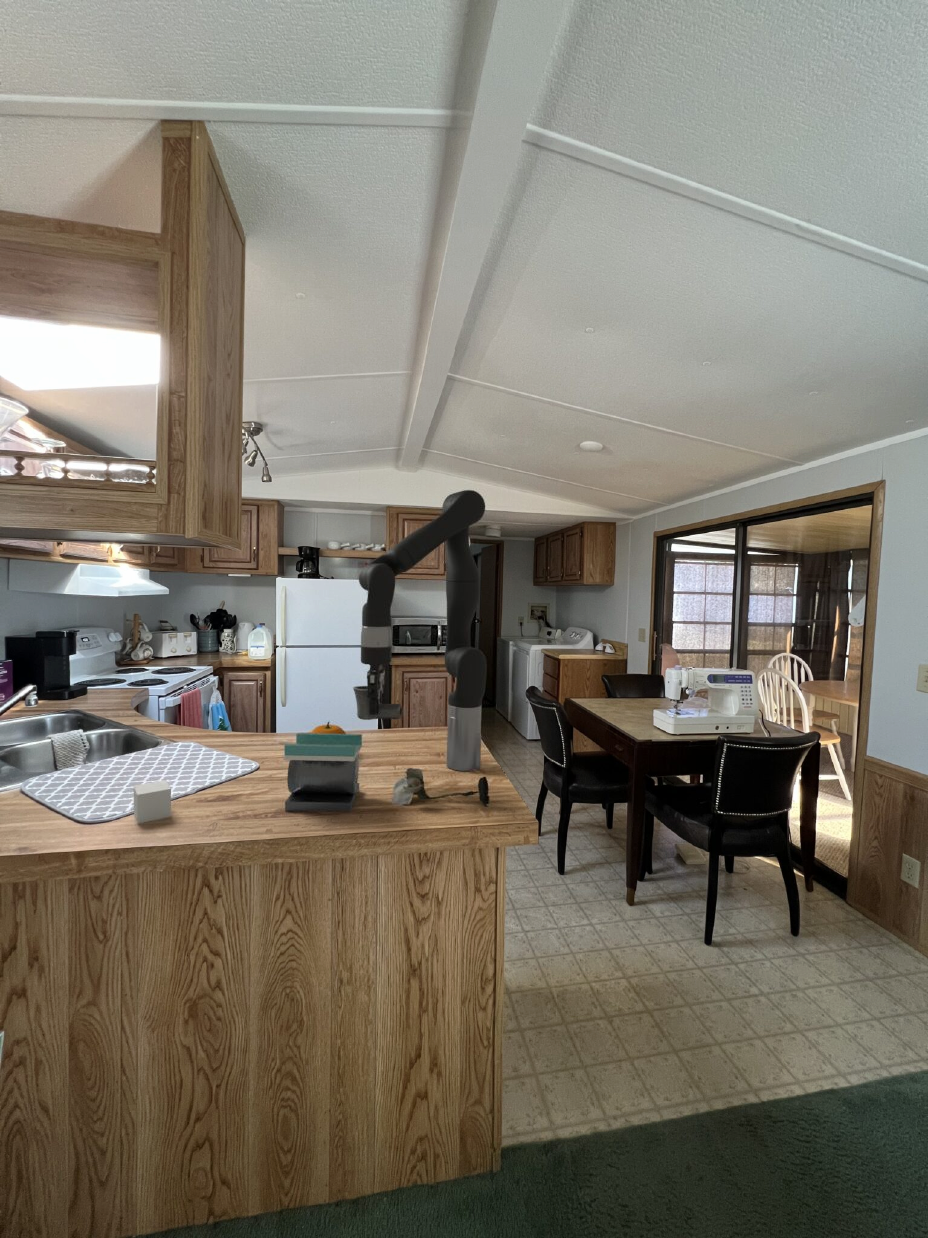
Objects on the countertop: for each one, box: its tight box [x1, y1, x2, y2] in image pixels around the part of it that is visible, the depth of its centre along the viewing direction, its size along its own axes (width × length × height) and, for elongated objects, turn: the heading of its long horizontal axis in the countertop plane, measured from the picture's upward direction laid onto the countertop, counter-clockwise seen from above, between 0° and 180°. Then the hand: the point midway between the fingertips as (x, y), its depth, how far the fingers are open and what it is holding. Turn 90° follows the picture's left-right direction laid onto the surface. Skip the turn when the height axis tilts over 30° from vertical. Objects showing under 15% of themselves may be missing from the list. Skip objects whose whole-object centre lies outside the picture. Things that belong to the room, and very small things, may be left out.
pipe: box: [352, 685, 404, 721], centre depth 134 cm, size 6×13×8 cm, turn 79°
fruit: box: [310, 721, 347, 734], centre depth 154 cm, size 12×12×10 cm
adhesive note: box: [133, 779, 172, 825], centre depth 111 cm, size 6×6×6 cm
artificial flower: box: [390, 767, 490, 808], centre depth 123 cm, size 9×22×10 cm, turn 81°
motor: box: [283, 732, 363, 813], centre depth 121 cm, size 15×12×14 cm
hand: (375, 711), depth 134 cm, fingers closed on pipe, 5 cm apart
